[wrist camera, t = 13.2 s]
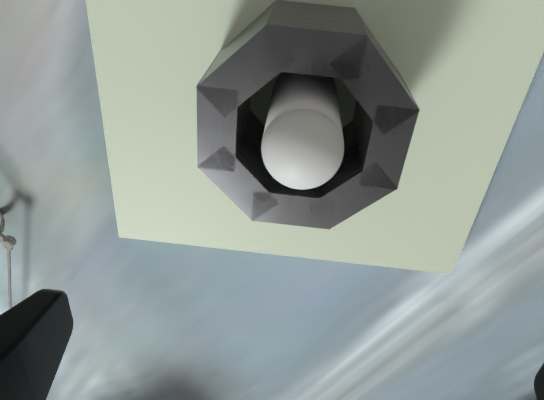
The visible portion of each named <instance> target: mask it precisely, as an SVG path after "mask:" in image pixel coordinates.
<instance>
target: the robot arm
mask: <svg viewBox="0 0 544 400" xmlns="http://www.w3.org/2000/svg"><path fill="white" fill-rule="evenodd" d="M72 329H73V318H72V314H71V310H70V305H69V301H68V297H67V294H66V293H65V292H64V291H60V290H52V289H42V290H39V291H37V292H36V293H34V294H33V295H31V296H29V297H28V298H26V299H25V300H23V301H22V302H20V303H18V304H17V305H15V306H14V307H12V308H11V309H9V310H7V311H6V312H4V313H3V314H1V315H0V400H46V398H47V396H48V393H49V390H50V388H51V385H52V383H53V380H54V377H55V375H56V372H57V370H58V367H59V364H60V362H61V359H62V357H63V354H64V352H65V349H66V346H67V344H68V341H69V339H70V336H71V333H72ZM534 389H535V394H536V398H537V400H544V364H543V365H542V367H541V368H540V370H539V371H538V373H537V374H536V376H535V380H534Z"/></svg>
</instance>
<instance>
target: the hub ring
mask: <svg viewBox="0 0 544 400" xmlns="http://www.w3.org/2000/svg"><path fill="white" fill-rule="evenodd" d="M280 72H287V73H297V74H306V75H316V76H325V77H335V78H341V80H342V81H343V82H344V84H345V85H346V86H347V88H348V89H349V90H350V92H351V93H352V94H353V95H354V97H355V98H356V99H357V101H356V106H355V111H354V116H353V121H352V122H350V123H349V124H347V125H346V126H344V127H343V128H342V132H343V139H344V156H343V159H342V163H341V165H340V167H339V169H338V170H337V172H336V173H335V174H334V176H333V177H332V178H331V179H330V180H328V181H327V182H326V183H324V184H322V185H320V186H318V187H315V188H312V189H304V190H300V189H293V188H289V187H287V186H284V185H283V184H281V183H279V182H278V181H277V180H275V179H274V178H273V177H272V176H271V174H270V173H269V172H268V170H267V168H266V167H265V164H264V162H263V158H262V153H261V144H262V138H263V133H264V128H265V126H264V125H263V124H262V123H261V121H260V120H259V119H258V118H257V117H256V116H255V115H254V114H253V112H252V111H251V110H250V104H251V96H252V95H253V94H254V93H256V92H257V91H258V90H259V89H260V88H262V87H263V86H264V85H265V84H267V83H268V82H269V81H270V80H271V79H273V78H274V77H275V76H276V75H278V74H279V73H280ZM196 88H197V168H199V169H200V170H201V171H202V172H203V173H204V174H205V175H206V176H207V177H208V178H209V179H210V180H211V181H212V182H213V183H214V184H215V185H216V186H217V187H218V188H219V189H220V190H221V191H222V192H223V193H224V194H225V195H226V196H228V197H229V198H230V199H231V200H232V201H233V202H234V203H235V204H236V205H237V206H238V207H239V208H240V209H241V210H242V211H243V212H244V213H245V214H246V215H247V216H248V217H249V218H250V219H251V220H252V221H259V222H268V223H276V224H285V225H294V226H303V227H312V228H321V229H328V230H329V229H331V228H332V227H334V226H336V225H337V224H339V223H341V222H343V221H344V220H346V219H348V218H349V217H351V216H353V215H354V214H356V213H358V212H359V211H361V210H363V209H364V208H366V207H368V206H369V205H371V204H373V203H375V202H376V201H378V200H380V199H381V198H383V197H385V196H386V195H388V194H390V193H391V192H393V191H395V190H397V189H398V184H399V181H400V177H401V174H402V170H403V167H404V163H405V160H406V156H407V152H408V149H409V145H410V142H411V138H412V135H413V131H414V128H415V124H416V121H417V117H418V114H419V111H420V109H419V107H418V106H417V104H416V102H415V100H414V98H413V97H412V95H411V93H410V91H409V89H408V87H407V86H406V84H405V82H404V80H403V78H402V77H401V75H400V73H399V71H398V69H397V68H396V67H395V66H394V64H393V63H392V61H391V60H390V59H389V57H388V56H387V54H386V53H385V51H384V50H383V48H382V47H381V45H380V44H379V43H378V41H377V40H376V38H375V37H374V35H373V34H372V32H371V31H370V30H369V28H368V27H367V25H366V24H365V22H364V21H363V19H362V18H361V17H360V15H359V14H358V12H357V11H356V8H352V7H342V6H332V5H323V4H313V3H303V2H294V1H284V0H275V2H274V3H272V4H271V5H270V6H269V7H268V8H267V9H266V10H265V11H264V12H262V13H261V14H260V15H259V16H258V17H257V18H256V19H255V20H254V21H252V22H251V23H250V24H249V25H248V26H247V27H246V28H245V29H244V30H243V31H241V32H240V33H239V34H238V35H237V36H236V37H235V38H234V39H233V40H231V41H230V42H229V43H228V44H227V45H226V46H225V47H224V48H223V49H222V50H220V51H219V53H218V54H217V56H216V57H215V59H214V60H213V62H212V63H211V65H210V66H209V68H208V69H207V71H206V72H205V74H204V75H203V77H202V78H201V80H200V81H199V83H198V84H197V86H196Z"/></svg>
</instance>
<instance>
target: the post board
mask: <svg viewBox="0 0 544 400" xmlns="http://www.w3.org/2000/svg"><path fill="white" fill-rule="evenodd" d="M284 1H294V2H303V3H313V4H323V5H332V6H342V7H352V8H356V11H357V12H358V14H359V15H360V17H361V18H362V19H363V21H364V22H365V24H366V25H367V27H368V28H369V30H370V31H371V32H372V34H373V35H374V37H375V38H376V40H377V41H378V43H379V44H380V45H381V47H382V48H383V50H384V51H385V53H386V54H387V56H388V57H389V59H390V60H391V61H392V63H393V64H394V66H395V67H396V68H397V69H398V71H399V73H400V75H401V77H402V78H403V80H404V82H405V84H406V86H407V87H408V89H409V91H410V93H411V95H412V97H413V98H414V100H415V102H416V104H417V106H418V107H419V109H420V111H419V114H418V117H417V121H416V124H415V128H414V131H413V135H412V138H411V142H410V145H409V149H408V152H407V156H406V160H405V163H404V167H403V170H402V174H401V177H400V181H399V184H398V189H397V190H395V191H393V192H391V193H390V194H388V195H386V196H385V197H383V198H381V199H380V200H378V201H376V202H375V203H373V204H371V205H369V206H368V207H366V208H364V209H363V210H361V211H359V212H358V213H356V214H354V215H353V216H351V217H349V218H348V219H346V220H344V221H343V222H341V223H339V224H337V225H336V226H334V227H332V228H331V229H329V230H328V229H321V228H312V227H303V226H294V225H285V224H276V223H268V222H259V221H252V220H251V219H250V218H249V217H248V216H247V215H246V214H245V213H244V212H243V211H242V210H241V209H240V208H239V207H238V206H237V205H236V204H235V203H234V202H233V201H232V200H231V199H230V198H229V197H228V196H226V195H225V194H224V193H223V192H222V191H221V190H220V189H219V188H218V187H217V186H216V185H215V184H214V183H213V182H212V181H211V180H210V179H209V178H208V177H207V176H206V175H205V174H204V173H203V172H202V171H201V170H200V169H199V168H197V88H196V86H197V84H198V83H199V81H200V80H201V78H202V77H203V75H204V74H205V72H206V71H207V69H208V68H209V66H210V65H211V63H212V62H213V60H214V59H215V57H216V56H217V54H218V53H219V51H220V50H222V49H223V48H224V47H225V46H226V45H227V44H228V43H229V42H230V41H231V40H233V39H234V38H235V37H236V36H237V35H238V34H239V33H240V32H241V31H243V30H244V29H245V28H246V27H247V26H248V25H249V24H250V23H251V22H252V21H254V20H255V19H256V18H257V17H258V16H259V15H260V14H261V13H262V12H264V11H265V10H266V9H267V8H268V7H269V6H270V5H271V4H272V3H274V2H275V0H86V6H87V13H88V20H89V28H90V35H91V42H92V49H93V56H94V63H95V70H96V77H97V85H98V92H99V99H100V106H101V113H102V120H103V127H104V134H105V142H106V149H107V156H108V163H109V170H110V177H111V184H112V191H113V199H114V206H115V213H116V220H117V227H118V234H119V237H122V238H131V239H140V240H149V241H158V242H167V243H176V244H185V245H194V246H203V247H212V248H221V249H230V250H239V251H248V252H257V253H266V254H275V255H283V256H292V257H301V258H310V259H319V260H328V261H337V262H346V263H355V264H364V265H373V266H382V267H391V268H400V269H409V270H418V271H427V272H436V273H445V274H452V273H453V271H454V268H455V266H456V263H457V261H458V259H459V256H460V254H461V251H462V249H463V246H464V244H465V242H466V239H467V237H468V234H469V232H470V229H471V227H472V225H473V222H474V220H475V217H476V215H477V213H478V210H479V208H480V205H481V203H482V200H483V198H484V196H485V193H486V191H487V188H488V186H489V183H490V181H491V179H492V176H493V174H494V171H495V169H496V166H497V164H498V162H499V159H500V157H501V154H502V152H503V150H504V147H505V145H506V142H507V140H508V137H509V135H510V133H511V130H512V128H513V125H514V123H515V120H516V118H517V116H518V113H519V111H520V108H521V106H522V103H523V101H524V99H525V96H526V94H527V91H528V89H529V87H530V84H531V82H532V79H533V77H534V74H535V72H536V70H537V67H538V65H539V62H540V60H541V57H542V55H543V53H544V0H284ZM356 101H357V99H356V98H355V97H354V95H353V94H352V93H351V92H350V90H349V89H348V88H347V86H346V85H345V84H344V82H343V81H342V80H341V78H335V77H325V76H316V75H306V74H297V73H287V72H280V73H279V74H278V75H276V76H275V77H274V78H273V79H271V80H270V81H269V82H268V83H267V84H265V85H264V86H263V87H262V88H260V89H259V90H258V91H257V92H256V93H254V94H253V95H252V96H251V104H250V110H251V111H252V112H253V114H254V115H255V116H256V117H257V118H258V119H259V120H260V121H261V123H262V124H263V125H264V126H265V128H264V133H263V138H262V144H261V153H262V158H263V162H264V164H265V167H266V168H267V170H268V172H269V173H270V174H271V176H272V177H273V178H274V179H275V180H277V181H278V182H279V183H281V184H283V185H284V186H287V187H289V188H293V189H300V190H304V189H312V188H315V187H318V186H320V185H322V184H324V183H326V182H327V181H328V180H330V179H331V178H332V177H333V176H334V174H335V173H336V172H337V170H338V169H339V167H340V165H341V163H342V159H343V156H344V139H343V132H342V128H343V127H344V126H346V125H347V124H349V123H350V122H352V121H353V116H354V111H355V106H356Z"/></svg>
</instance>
